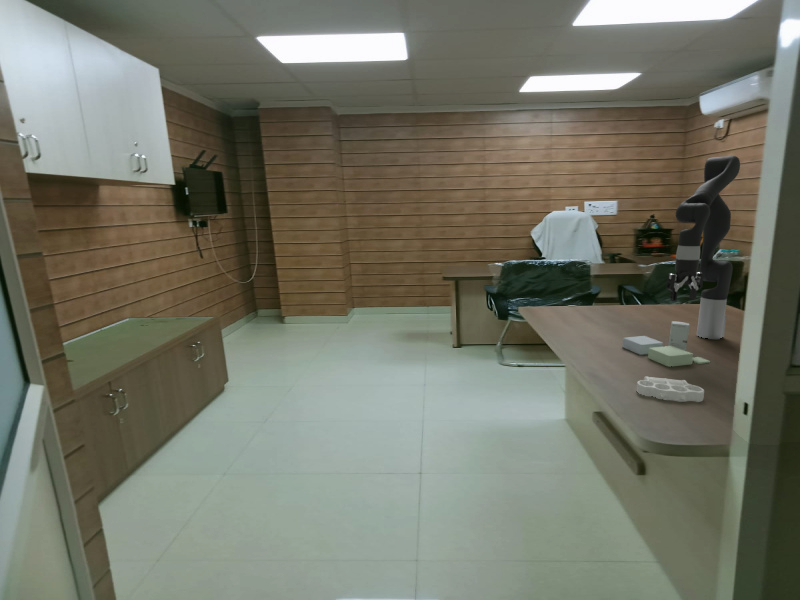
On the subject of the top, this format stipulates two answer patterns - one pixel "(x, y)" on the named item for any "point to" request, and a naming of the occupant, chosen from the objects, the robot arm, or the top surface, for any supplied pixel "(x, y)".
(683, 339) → the skincare box
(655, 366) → the top surface
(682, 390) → the white brass knuckles
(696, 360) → the sage tile
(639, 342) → the blue-grey riser block
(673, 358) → the sage riser block
